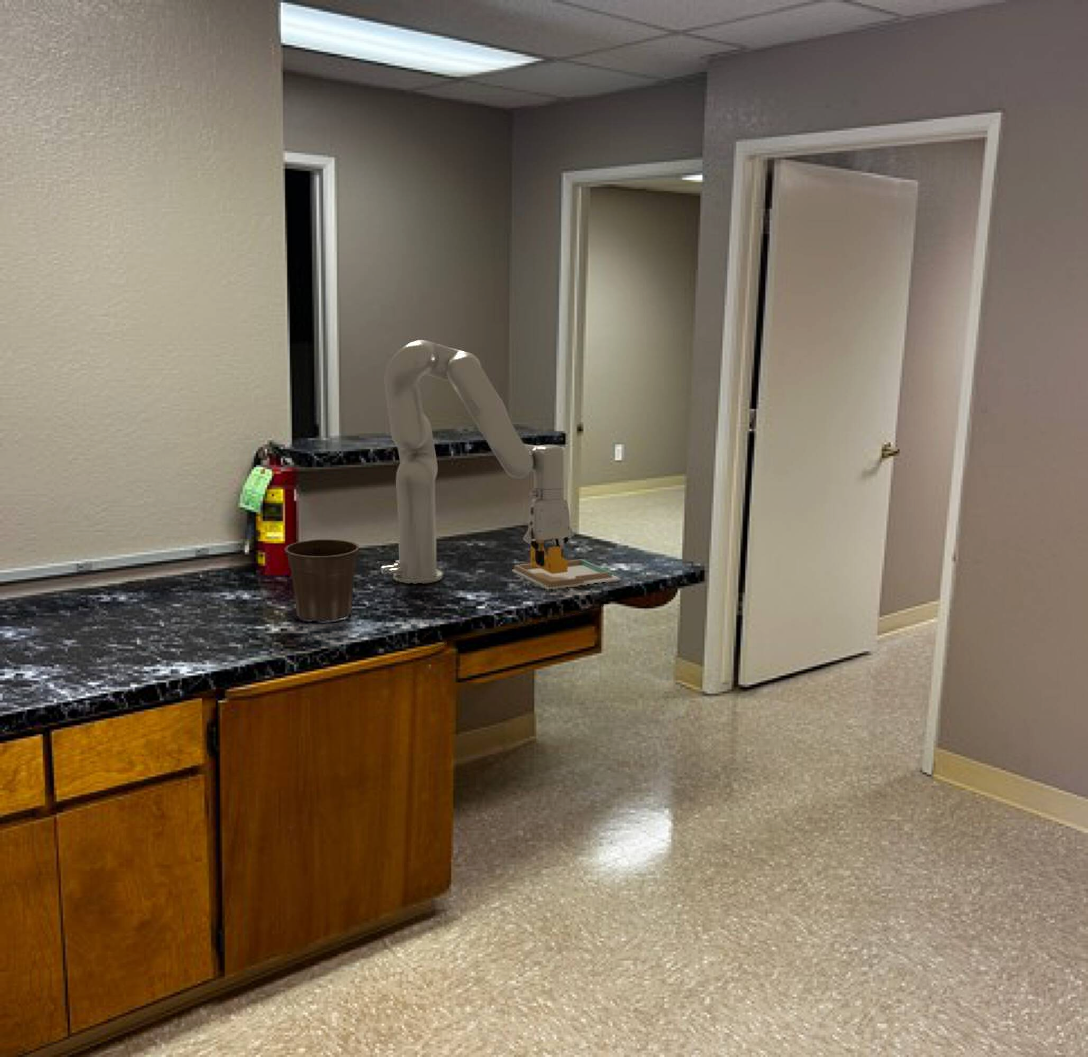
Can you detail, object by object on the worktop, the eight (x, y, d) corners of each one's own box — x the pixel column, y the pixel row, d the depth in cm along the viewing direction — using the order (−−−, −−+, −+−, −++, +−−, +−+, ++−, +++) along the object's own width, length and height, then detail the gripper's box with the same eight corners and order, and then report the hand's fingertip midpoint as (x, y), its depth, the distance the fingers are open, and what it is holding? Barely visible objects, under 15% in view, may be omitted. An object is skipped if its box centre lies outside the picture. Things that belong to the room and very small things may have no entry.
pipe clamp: (567, 571, 273) (567, 547, 271) (552, 573, 271) (552, 548, 269) (545, 561, 283) (545, 537, 282) (530, 563, 281) (530, 539, 280)
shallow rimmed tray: (547, 590, 266) (547, 583, 266) (512, 571, 284) (512, 565, 283) (620, 580, 276) (620, 573, 276) (581, 563, 293) (581, 556, 293)
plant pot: (375, 616, 244) (373, 547, 240) (314, 632, 232) (311, 559, 229) (334, 602, 255) (331, 535, 251) (274, 616, 244) (270, 546, 240)
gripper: (525, 499, 266) (526, 571, 270) (585, 493, 273) (584, 563, 277) (512, 494, 272) (513, 564, 276) (570, 488, 280) (570, 557, 284)
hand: (548, 563), depth 277 cm, fingers closed on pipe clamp, 4 cm apart
